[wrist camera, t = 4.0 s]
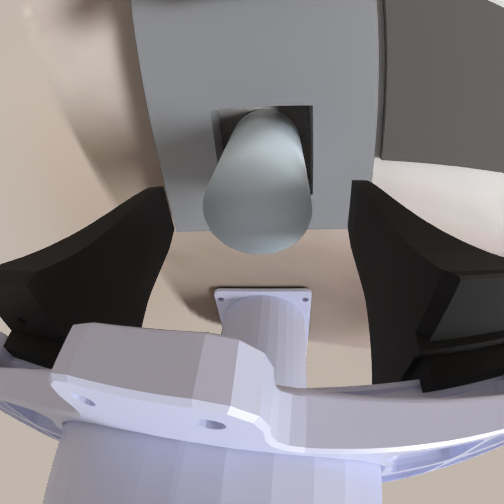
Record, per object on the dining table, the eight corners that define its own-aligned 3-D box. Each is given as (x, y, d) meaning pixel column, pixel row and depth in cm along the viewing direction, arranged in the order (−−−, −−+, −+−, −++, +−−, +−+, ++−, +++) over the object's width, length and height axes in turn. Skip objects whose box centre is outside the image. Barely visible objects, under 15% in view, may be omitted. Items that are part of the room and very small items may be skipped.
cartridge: (300, 170, 18) (310, 253, 12) (235, 172, 19) (211, 254, 13) (299, 108, 16) (313, 159, 10) (228, 111, 16) (194, 164, 10)
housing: (359, 211, 20) (374, 255, 16) (184, 215, 21) (164, 257, 18) (354, -86, 7) (375, -115, 4) (139, -66, 9) (101, -85, 5)
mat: (515, 172, 16) (518, 175, 15) (379, 157, 17) (381, 159, 17) (532, 24, 8) (536, 25, 8) (380, -31, 10) (382, -32, 9)
